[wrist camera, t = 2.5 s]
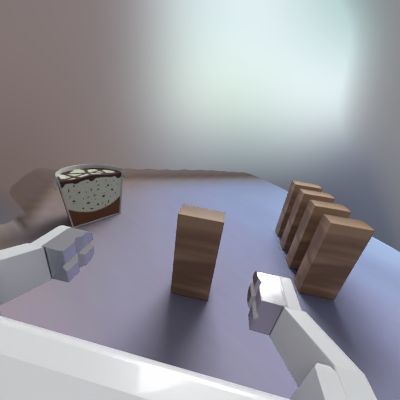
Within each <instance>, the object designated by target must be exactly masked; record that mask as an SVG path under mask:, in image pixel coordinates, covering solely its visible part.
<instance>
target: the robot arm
mask: <svg viewBox="0 0 400 400" xmlns="http://www.w3.org/2000/svg"><path fill="white" fill-rule="evenodd" d="M92 240H93V236H92V233H90V232H87V231H84V230H80V229H76V228H71V227H67V226H64V225H62V226H58V227H56V228H55V229H53V230H51V231H50V232H48V233H47V234H45V235H43V236H42V237H40V238H39V239H37V240H35V241H34V242H32V243H31V244H28V243H26V244H22V245H18V246H14V247H11V248H7V249H3V250H0V305H2V304H4V303H6V302H8V301H10V300H12V299H14V298H16V297H18V296H20V295H22V294H24V293H25V292H27V291H29V290H31V289H33V288H35V287H37V286H39V285H41V284H43V283H45V282H47V281H49V280H51V278H52V279H56V280H61V281H65V282H70V281H71V280H72V279H73V278H74V277H75V276H76V275H77V274H78V273H79V272H80V267H82V266H85V265H87V264H88V263H89V261H90V260H91V258H92V257H93V254H94V246H93V245H92V243H91V241H92ZM247 302H248V306H249V308H250V311H249V314H248V317H249V330H253V331H256V332H259V333H263V334H266V335H270V336H269V337H270V338H271V340H272V342H273V344H274V345H275V347H276V349H277V351H278V352H279V354H280V356H281V357H282V359H283V361H284V363H285V364H286V366H287V368H288V370H289V371H290V373H291V375H292V377H293V378H294V380H295V382H296V383H297V385H298V387H299V388H298V389H297V390H296V392H295V393H294V394H293V396H292V397H291V398H290V399H287V398H283V397H280V396H276V395H273V394H269V393H266V392H262V391H259V390H256V389H252V388H249V387H245V386H242V385H238V384H235V383H231V382H228V381H224V380H221V379H217V378H214V377H210V376H207V375H203V374H200V373H197V372H193V371H190V370H186V369H183V368H179V367H176V366H172V365H169V364H165V363H162V362H158V361H155V360H151V359H148V358H145V357H141V356H138V355H134V354H131V353H127V352H124V351H120V350H117V349H113V348H110V347H106V346H103V345H99V344H96V343H92V342H89V341H85V340H82V339H78V338H75V337H71V336H68V335H64V334H61V333H57V332H54V331H51V330H47V329H44V328H40V327H37V326H33V325H30V324H26V323H23V322H19V321H16V320H12V319H9V318H5V317H2V316H1V312H0V400H377V398H376V396H375V394H374V392H373V390H372V388H371V386H370V384H369V382H368V380H367V378H366V376H365V374H364V373H363V372H362V371H361V370H360V369H359V368H358V367H357V366H356V365H355V364H354V363H353V362H352V361H351V360H350V359H349V358H348V356H347V355H346V354H345V353H344V352H343V351H342V350H341V349H340V348H339V347H338V346H337V345H336V344H335V343H334V342H333V341H332V340H331V338H330V337H329V336H328V335H327V334H326V333H325V332H324V331H323V330H322V329H321V328H320V327H319V326H318V325H317V324H316V323H315V321H314V320H313V319H312V318H311V317H310V316H309V315H308V314H307V313H306V312H304V311H302V310H301V307H300V304H299V301H298V299H297V296H296V293H295V290H294V287H293V284H292V281H291V280H290V278H286V277H281V276H276V275H272V274H267V273H263V272H258V271H255V273H254V275H253V283H251V284H250V286H249V290H248V297H247Z"/></svg>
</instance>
